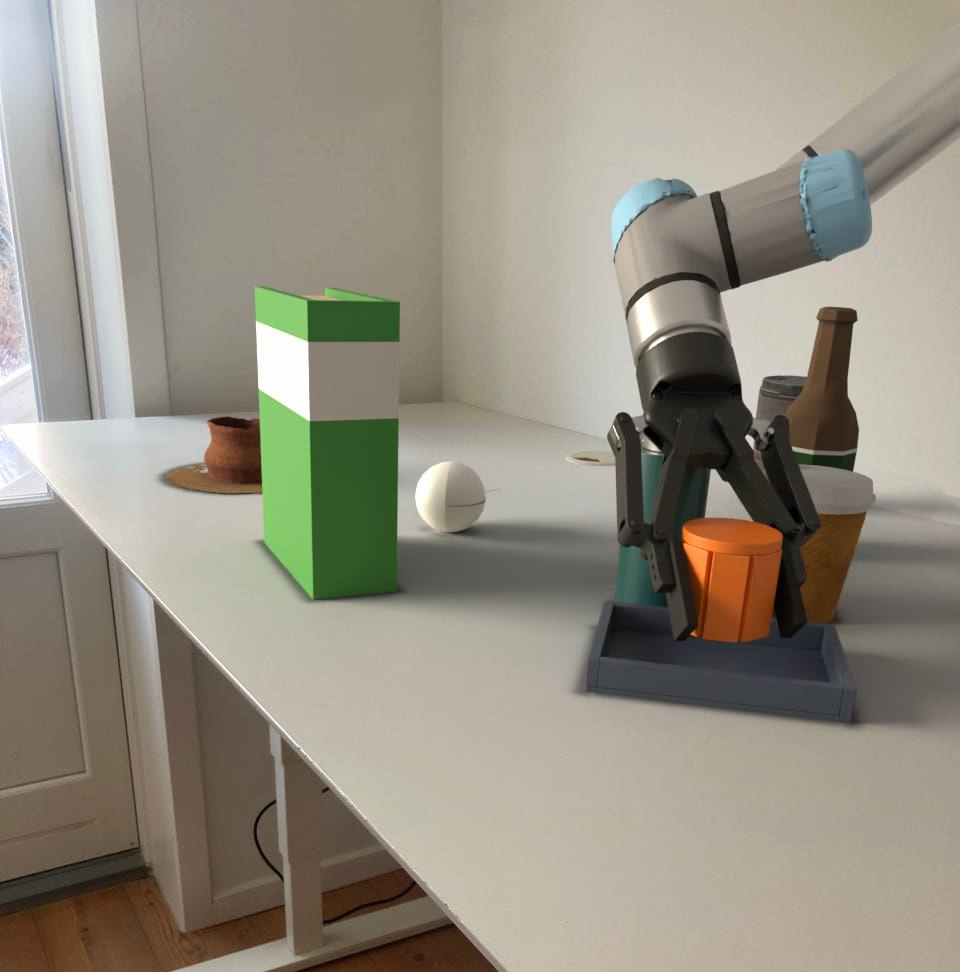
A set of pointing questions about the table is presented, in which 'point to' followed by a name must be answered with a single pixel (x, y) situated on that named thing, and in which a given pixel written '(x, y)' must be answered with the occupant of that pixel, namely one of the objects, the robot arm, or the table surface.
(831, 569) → the disposable coffee cup
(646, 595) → the water bottle
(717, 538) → the cap
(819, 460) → the beer bottle
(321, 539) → the hardback book
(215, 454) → the ceramic pot
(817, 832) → the table surface
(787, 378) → the travel mug
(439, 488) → the white ball
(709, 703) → the tray
